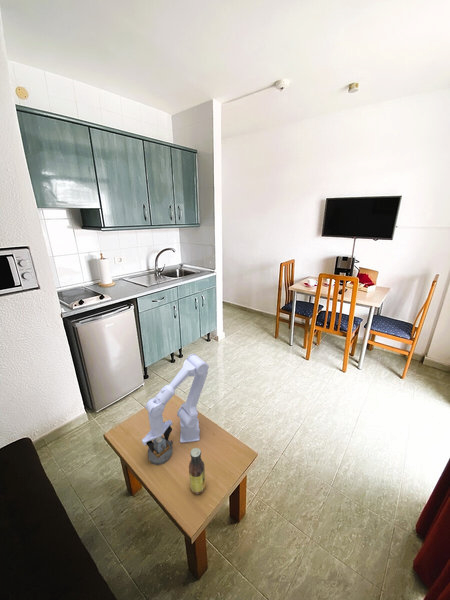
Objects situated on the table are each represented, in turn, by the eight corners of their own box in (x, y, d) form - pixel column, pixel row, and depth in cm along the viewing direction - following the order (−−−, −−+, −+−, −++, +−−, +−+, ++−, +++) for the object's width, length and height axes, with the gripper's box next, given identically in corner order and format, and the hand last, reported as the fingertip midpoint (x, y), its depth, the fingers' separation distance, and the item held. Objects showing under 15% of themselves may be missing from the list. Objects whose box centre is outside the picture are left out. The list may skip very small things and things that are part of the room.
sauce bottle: (207, 492, 99) (205, 458, 92) (191, 497, 97) (189, 463, 90) (203, 476, 105) (202, 443, 97) (189, 480, 103) (186, 447, 96)
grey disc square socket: (165, 437, 122) (164, 430, 121) (179, 450, 116) (178, 444, 114) (143, 453, 114) (142, 447, 113) (157, 470, 107) (156, 463, 106)
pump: (161, 443, 116) (160, 433, 113) (168, 450, 113) (166, 440, 110) (154, 449, 113) (152, 438, 111) (160, 456, 110) (159, 446, 107)
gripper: (165, 408, 115) (167, 430, 120) (136, 428, 105) (140, 450, 110) (174, 417, 111) (176, 438, 116) (145, 438, 101) (149, 460, 106)
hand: (159, 445), depth 112 cm, fingers open, 7 cm apart
